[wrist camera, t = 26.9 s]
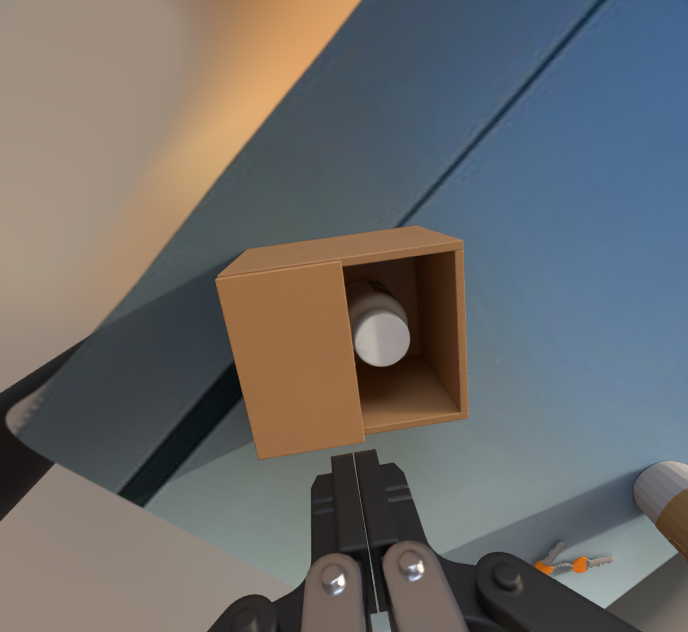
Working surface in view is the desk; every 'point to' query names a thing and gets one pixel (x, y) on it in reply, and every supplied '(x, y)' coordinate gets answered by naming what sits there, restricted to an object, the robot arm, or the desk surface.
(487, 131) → the desk surface
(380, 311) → the pill bottle
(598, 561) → the key chain
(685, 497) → the coffee cup
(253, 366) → the bin flap
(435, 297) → the carton
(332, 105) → the desk surface
